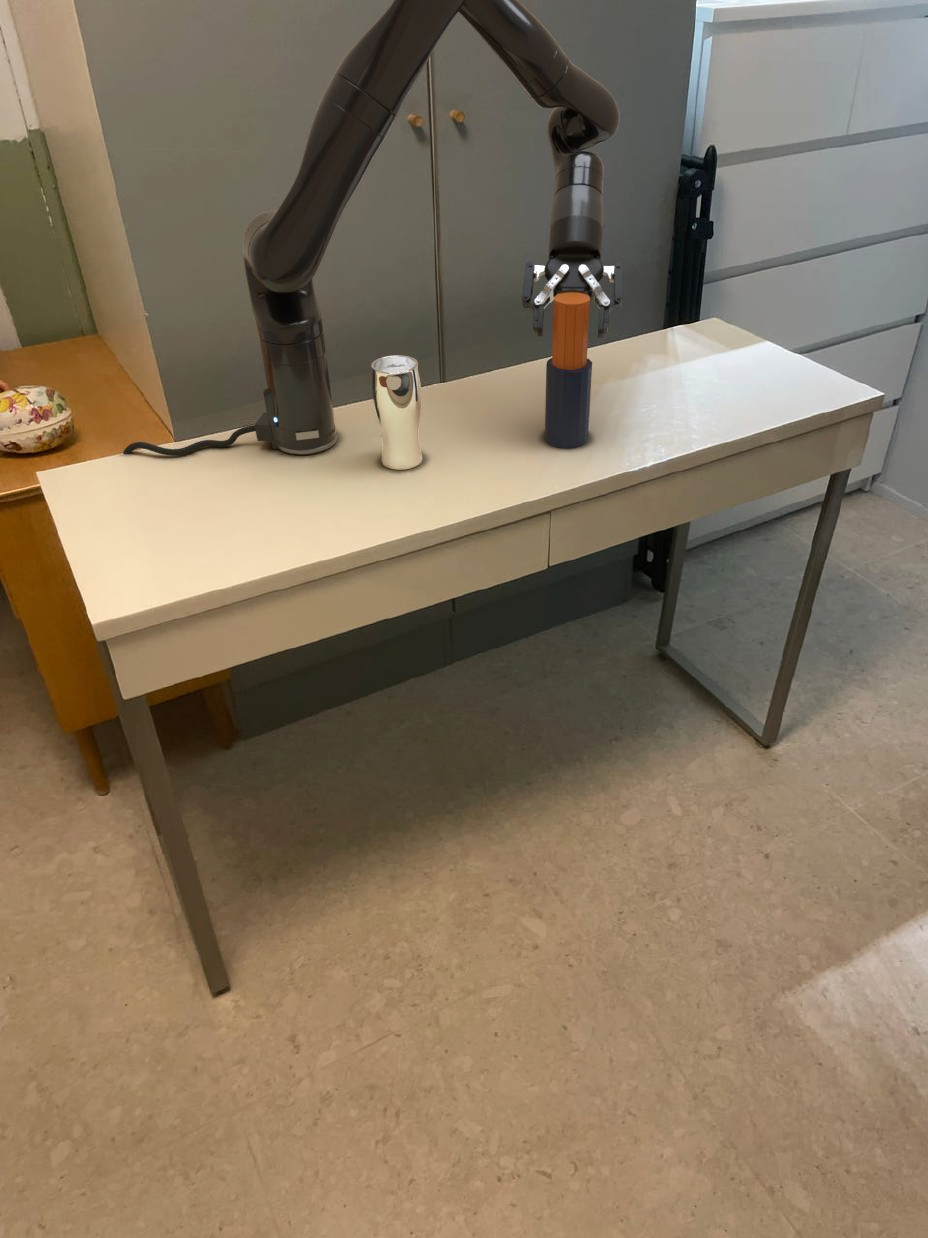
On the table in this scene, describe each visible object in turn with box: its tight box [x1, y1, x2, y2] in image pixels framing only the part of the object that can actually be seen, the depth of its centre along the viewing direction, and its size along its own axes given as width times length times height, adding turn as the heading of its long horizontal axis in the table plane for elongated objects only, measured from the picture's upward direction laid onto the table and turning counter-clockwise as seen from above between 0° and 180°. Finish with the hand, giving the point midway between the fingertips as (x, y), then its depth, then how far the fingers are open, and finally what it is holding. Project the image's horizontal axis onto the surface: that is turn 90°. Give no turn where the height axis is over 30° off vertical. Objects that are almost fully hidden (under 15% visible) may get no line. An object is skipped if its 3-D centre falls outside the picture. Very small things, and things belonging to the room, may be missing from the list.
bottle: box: [544, 357, 593, 449], centre depth 138 cm, size 7×7×16 cm
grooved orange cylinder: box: [551, 292, 591, 370], centre depth 133 cm, size 5×5×10 cm
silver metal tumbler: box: [370, 354, 423, 471], centre depth 135 cm, size 7×7×15 cm
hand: (570, 334), depth 132 cm, fingers open, 8 cm apart
